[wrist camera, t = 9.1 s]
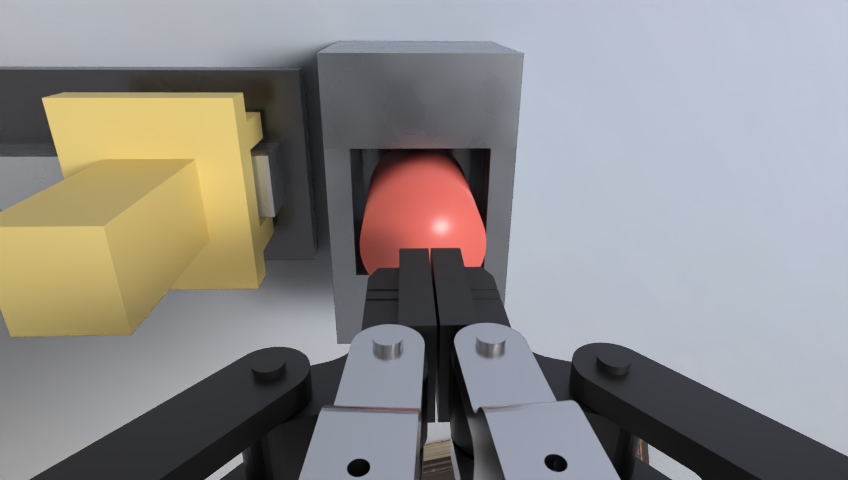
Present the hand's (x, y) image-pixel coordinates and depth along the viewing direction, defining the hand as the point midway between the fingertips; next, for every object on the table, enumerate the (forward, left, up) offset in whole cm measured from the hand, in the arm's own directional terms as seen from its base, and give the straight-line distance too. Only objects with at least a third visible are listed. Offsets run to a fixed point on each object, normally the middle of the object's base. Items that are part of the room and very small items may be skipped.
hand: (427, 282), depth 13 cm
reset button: (0, 0, -7) cm, 7 cm away
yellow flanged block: (0, -9, -9) cm, 13 cm away
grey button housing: (0, 0, -11) cm, 11 cm away
